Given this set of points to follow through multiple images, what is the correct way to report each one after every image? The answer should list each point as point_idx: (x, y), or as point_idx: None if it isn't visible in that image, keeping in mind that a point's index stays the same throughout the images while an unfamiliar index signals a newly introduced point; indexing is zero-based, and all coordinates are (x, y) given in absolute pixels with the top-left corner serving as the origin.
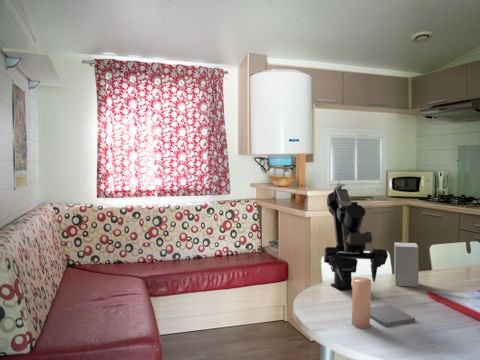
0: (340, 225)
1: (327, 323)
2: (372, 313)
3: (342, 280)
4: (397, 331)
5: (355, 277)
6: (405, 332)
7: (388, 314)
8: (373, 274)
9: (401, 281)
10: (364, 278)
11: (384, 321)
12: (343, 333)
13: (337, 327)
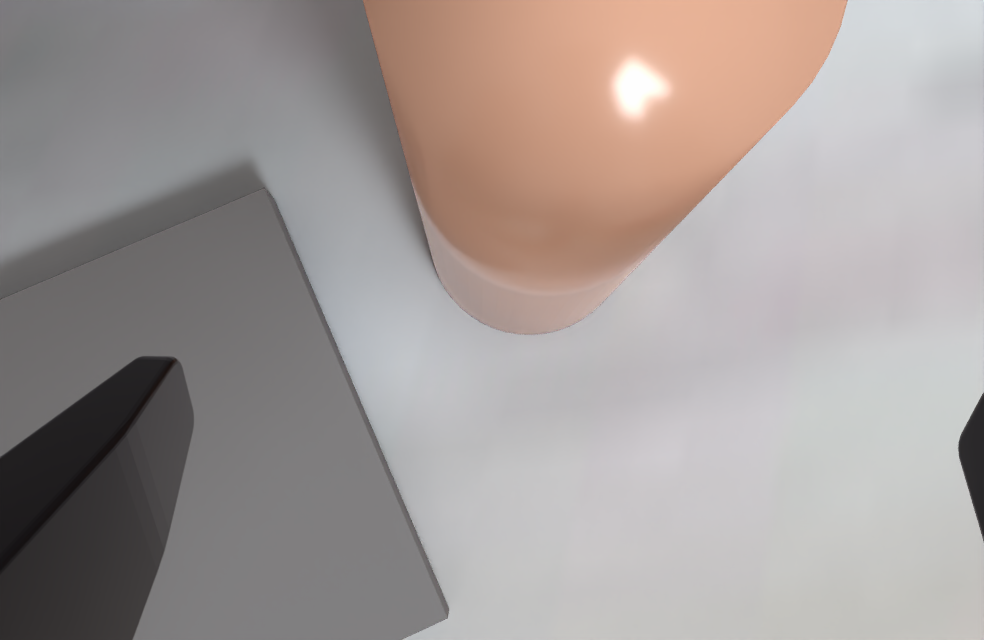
0: None
1: (899, 227)
2: (325, 467)
3: (972, 434)
4: (176, 98)
5: (740, 148)
6: (98, 82)
7: None
8: (104, 440)
9: None
10: (494, 78)
11: (252, 236)
12: None
13: (800, 137)
